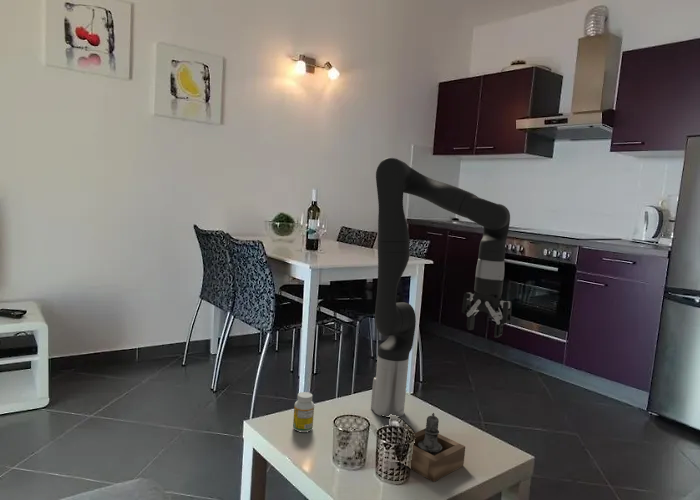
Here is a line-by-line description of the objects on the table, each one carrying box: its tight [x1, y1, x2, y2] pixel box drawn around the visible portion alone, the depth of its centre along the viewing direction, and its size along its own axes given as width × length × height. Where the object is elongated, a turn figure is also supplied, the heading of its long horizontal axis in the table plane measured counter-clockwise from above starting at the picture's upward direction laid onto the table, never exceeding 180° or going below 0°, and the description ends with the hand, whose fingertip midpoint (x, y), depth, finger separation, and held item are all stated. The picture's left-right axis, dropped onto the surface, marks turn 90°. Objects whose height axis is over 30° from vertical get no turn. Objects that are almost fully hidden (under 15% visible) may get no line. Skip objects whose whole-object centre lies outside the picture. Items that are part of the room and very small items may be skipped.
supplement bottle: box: [292, 391, 315, 433], centre depth 139 cm, size 5×5×10 cm
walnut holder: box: [410, 428, 466, 483], centre depth 127 cm, size 12×12×5 cm
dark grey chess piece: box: [418, 412, 442, 456], centre depth 126 cm, size 6×6×12 cm
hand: (483, 333), depth 145 cm, fingers open, 8 cm apart
